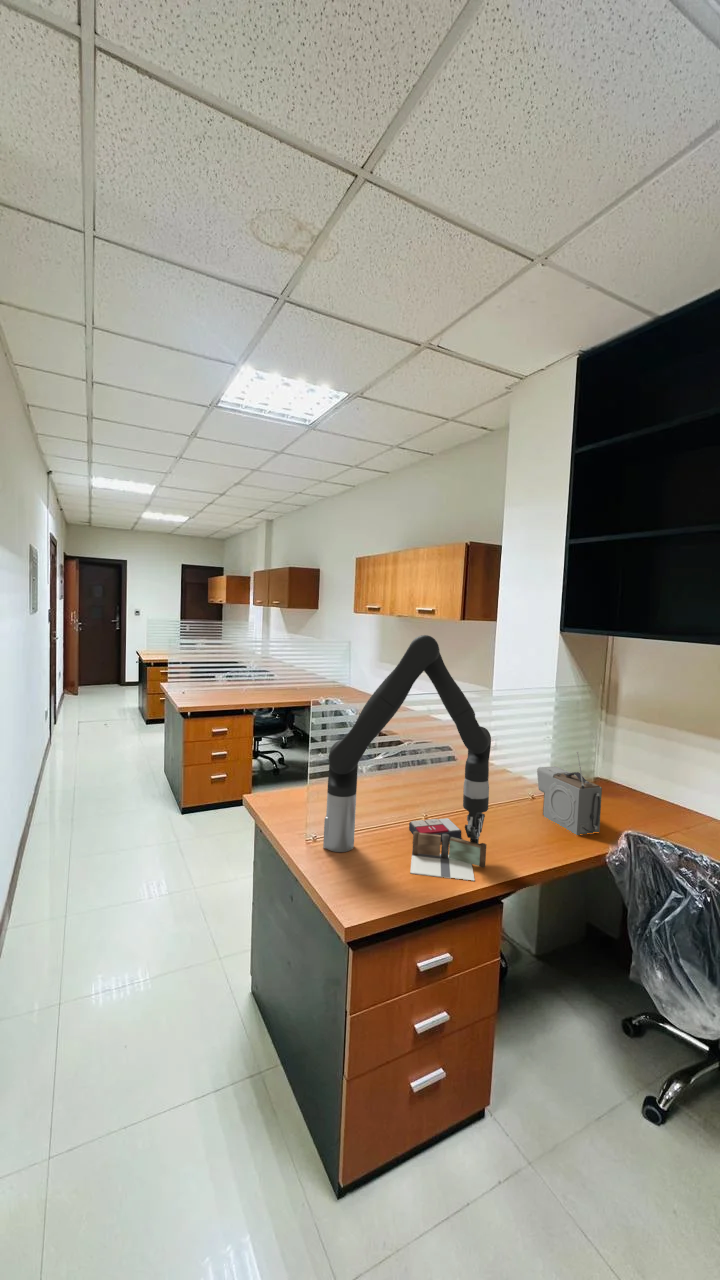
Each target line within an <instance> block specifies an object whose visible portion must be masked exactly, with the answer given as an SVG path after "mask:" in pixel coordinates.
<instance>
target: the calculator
mask: <svg viewBox="0 0 720 1280" xmlns="http://www.w3.org/2000/svg"><path fill="white" fill-rule="evenodd" d="M408 825H409V826H408V827H409V828H408V831H411V832H410V833H411V834H412V835H413V832H414V831H417V832H419V833H426V834H436V835H441V842H440V843H442V834H449V842H450V838H451V837H454V838H458V839H462V830H461V829H460V827H458V826H457V825H456V824H455V823H454V822H453V821H452V820H451V819H449V818H448V817H446V818H439V819H438V818H431V819H425V820H424V819H420V820H411V821H410V822H409V823H408Z"/></svg>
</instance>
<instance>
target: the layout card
mask: <svg viewBox="0 0 720 1280" xmlns="http://www.w3.org/2000/svg"><path fill="white" fill-rule="evenodd" d="M410 859H411V861H410V872H409V873H410V874H412V875H420V876H426V877H427V876H428V877H436V878H437V877H438V878H443V877H444V879H451V878H455V879H454V880H459V879H463V880H462V881H468V880H471V881H470V882H476V881H475V875H474V869H473V864H470V863H466V862H463V861H459V860H455V859H451V858H449V854H448V859H443V858H441V853H440V856H435V855H426V854H418V855H413V854H412V853H411V858H410Z"/></svg>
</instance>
